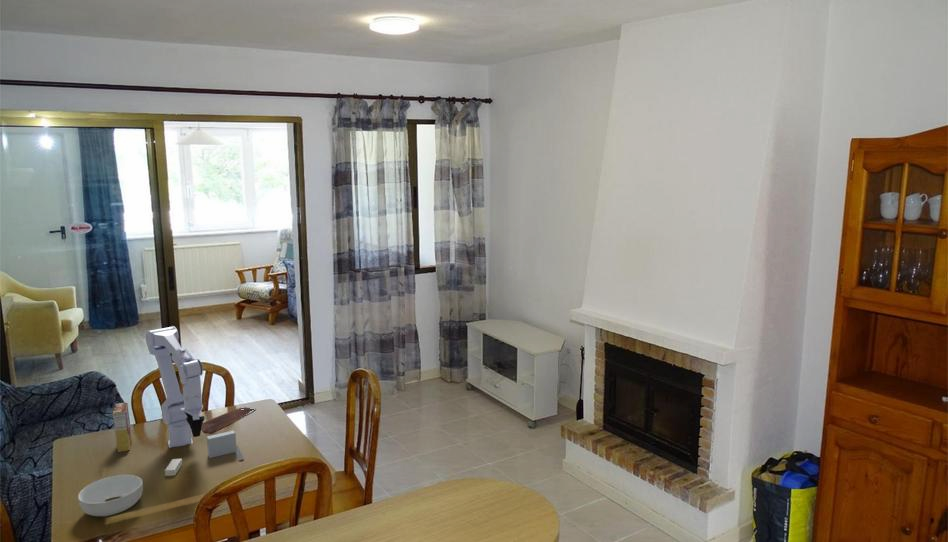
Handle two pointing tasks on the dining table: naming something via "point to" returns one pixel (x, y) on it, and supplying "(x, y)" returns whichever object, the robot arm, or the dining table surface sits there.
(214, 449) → the pale grey rectangular block
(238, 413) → the wooden tablet
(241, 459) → the grey mat
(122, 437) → the candy box
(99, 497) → the cereal bowl
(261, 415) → the dining table surface
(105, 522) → the dining table surface
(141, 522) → the dining table surface
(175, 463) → the upper offcut
